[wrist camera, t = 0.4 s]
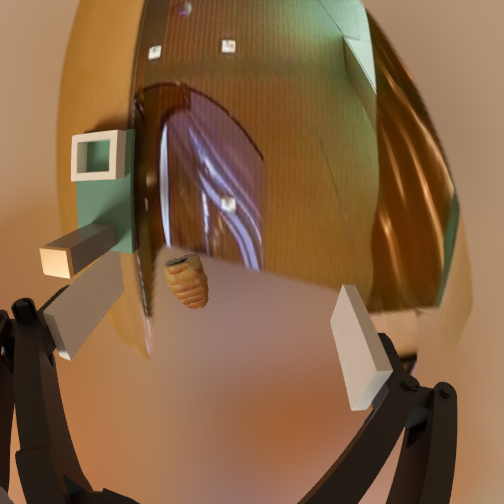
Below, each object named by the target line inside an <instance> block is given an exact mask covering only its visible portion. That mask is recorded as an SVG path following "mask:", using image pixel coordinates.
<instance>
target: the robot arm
mask: <svg viewBox="0 0 504 504" xmlns="http://www.w3.org/2000/svg"><path fill="white" fill-rule="evenodd" d="M123 292H124V285H123V277H122V268H121V258H120V252H117V251H111V250H109V251H108V252H107V253H106V254H105V255H103V256H102V257H101V258H100V259H99V260H98V261H96V262H95V263H94V264H93V265H92V266H91V267H90V268H89V269H87V270H86V271H85V272H84V273H83V274H82V275H81V276H80V277H79V278H77V279H76V280H75V281H74V282H73V283H72V284H71V285H70V286H69V285H67V286H65V287H63V288H61V289H60V290H59V291H58V292H57V293H56V294H55V295H53V296H52V297H51V298H50V300H48V301H47V302H46V303H45V304H44V305H43V306H42V307H41V308H40V309H39V310H38V311H36V308H35V305H34V302H33V300H32V299H30V298H22V299H19V300H17V301H15V302H14V303H13V305H12V307H11V309H12V312H13V315H14V317H15V319H10V318H9V316H8V313H7V312H6V311H5V310H0V504H14V503H13V501H12V500H11V499H9V496H8V489H9V478H10V477H9V476H10V443H11V430H12V429H11V428H12V420H13V412H14V405H15V409H16V418H17V419H16V420H17V428H18V435H19V441H20V450H19V451H16V454H15V459H16V465H17V469H18V474H19V477H20V482H21V485H22V489H23V492H24V496H25V499H26V502H27V504H140V503H138V502H136V501H134V500H133V499H131V498H128V497H126V496H123V495H120V494H117V493H115V492H113V491H110V490H108V489H105V488H103V491H102V492H101V491H93V489H92V487H91V485H90V484H89V482H88V480H87V479H86V477H85V476H84V474H83V472H82V470H81V468H80V465H79V462H78V459H77V456H76V453H75V450H74V447H73V443H72V440H71V436H70V433H69V430H68V426H67V422H66V418H65V414H64V409H63V404H62V400H61V395H60V389H59V384H58V377H57V371H56V364H55V357H54V354H53V351H54V350H55V348H57V351H58V353H59V355H60V356H61V357H63V358H66V359H68V360H72V359H73V357H74V356H75V354H76V353H77V352H78V350H79V349H80V347H81V346H82V345H83V343H84V342H85V341H86V339H87V338H88V337H89V335H90V334H91V333H92V331H93V330H94V328H95V327H96V326H97V325H98V323H99V322H100V321H101V319H102V318H103V317H104V316H105V314H106V313H107V312H108V310H109V309H110V308H111V307H112V305H113V304H114V303H115V302H116V300H117V299H118V298H119V297H120V295H121V294H122V293H123ZM330 323H331V327H332V331H333V335H334V339H335V343H336V346H337V350H338V354H339V358H340V362H341V367H342V371H343V375H344V379H345V384H346V388H347V393H348V397H349V402H350V407H351V410H366V409H367V408H368V407H369V405H370V404H371V403H372V405H373V408H374V409H373V411H372V412H371V413H370V414H369V416H368V417H367V418H366V420H365V421H364V424H363V425H362V427H361V428H360V430H359V431H358V432H357V434H356V436H355V437H354V438H353V439H352V441H351V442H350V444H349V445H348V446H347V448H346V449H345V450H344V451H343V453H342V454H341V455H340V456H339V458H338V459H337V460H336V461H335V463H334V464H333V465H332V466H331V467H330V469H329V470H328V471H327V472H326V473H325V474H324V476H323V477H322V478H321V479H320V480H319V481H318V482H317V483H316V485H315V486H314V487H313V488H312V489H311V490H310V491H309V492H308V493H307V494H306V495H305V496H304V497H303V498H302V499H301V500H300V501H299V502H298V503H297V504H358V503H359V501H360V500H361V498H362V497H363V496H364V494H365V493H366V491H367V490H368V488H369V487H370V486H371V484H372V483H373V481H374V480H375V478H376V476H377V475H378V473H379V472H380V470H381V468H382V467H383V465H384V464H385V462H386V460H387V458H388V457H389V455H390V453H391V451H392V450H393V448H394V446H395V444H396V442H397V440H398V438H399V436H400V434H401V432H402V430H403V428H404V427H405V433H404V438H403V443H402V448H401V452H400V456H399V460H398V464H397V468H396V472H395V475H394V479H393V483H392V486H391V489H390V493H389V495H388V498H387V501H386V504H449V502H450V497H451V491H452V484H453V478H454V470H455V460H456V447H457V394H456V391H455V389H454V388H453V387H452V386H451V385H450V384H448V383H446V382H439V383H438V384H436V386H435V387H434V388H433V389H432V388H427V387H422V386H420V384H419V382H418V381H417V379H416V378H414V377H413V376H411V375H408V374H406V372H405V370H404V367H403V365H402V363H401V361H400V358H399V356H398V354H397V352H396V350H395V349H394V345H393V343H392V341H391V339H390V338H389V337H388V336H387V335H386V334H385V333H377V331H376V329H375V327H374V325H373V322H372V320H371V318H370V316H369V314H368V312H367V309H366V307H365V305H364V303H363V301H362V299H361V297H360V295H359V293H358V291H357V289H356V287H355V285H348V284H343V285H342V288H341V291H340V294H339V298H338V300H337V303H336V307H335V310H334V312H333V315H332V318H331V321H330ZM1 350H3V353H2V355H1Z"/></svg>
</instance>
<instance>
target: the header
mask: <svg viewBox="0 0 504 504" xmlns="http://www.w3.org/2000/svg"><path fill="white" fill-rule="evenodd" d="M107 140H110V154H109V171H97V172H87V143H89V142H97V141H107ZM125 145H126V131H121V130H111V131H103V132H95V133H87V134H81V135H74V136H72V156H71V181H86V180H111V179H120V178H124V170H125Z"/></svg>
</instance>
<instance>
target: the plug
mask: <svg viewBox="0 0 504 504" xmlns="http://www.w3.org/2000/svg"><path fill="white" fill-rule="evenodd" d="M116 245H117V244H116V230H115V224H104V223H90V224H88V225H86V226H84V227H82V228H79V229H77V230H75V231H73V232H71V233H69V234H67V235H65V236H63V237H61V238H59V239H57V240H55V241H53V242H51V243H49V244H47V245H45V246H43V247H41V248H40V253H41V259H42V265H43V270H44V274H46V275H53V276H58V277H64V278H71V277H73V276H74V275H75V274H77V273H78V272H79V271H81V270H82V269H84V268H85V267H86V266H88V265H89V264H90V263H92V262H93V261H94V260H96V259H97V258H99V257H100V256H102V255H103V254H104V253H106V252H107V251H109V250H110V249H112V248H113V247H114V246H116Z"/></svg>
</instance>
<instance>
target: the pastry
mask: <svg viewBox="0 0 504 504" xmlns="http://www.w3.org/2000/svg"><path fill="white" fill-rule="evenodd" d="M163 268H164V271H165V277H166V281H167V283H168V285H169V286H170V288H171V290H172V291H173V293H174V295H176V296H177V298H178V299H180V300H181V301H182V302H183V304H185V305H186V306H187V307H188V308H193V309H197V308H204V306H205V305H206V303H207V302H208V285H207V276H206V275H205V273H204V270H203V266H202V264H201V261H200V258H199V256H198V255H196V254H189V255H185V256H184V257H181V258H179V259H171V260H169V261H167V262H166V264H165V265H164V267H163Z"/></svg>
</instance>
